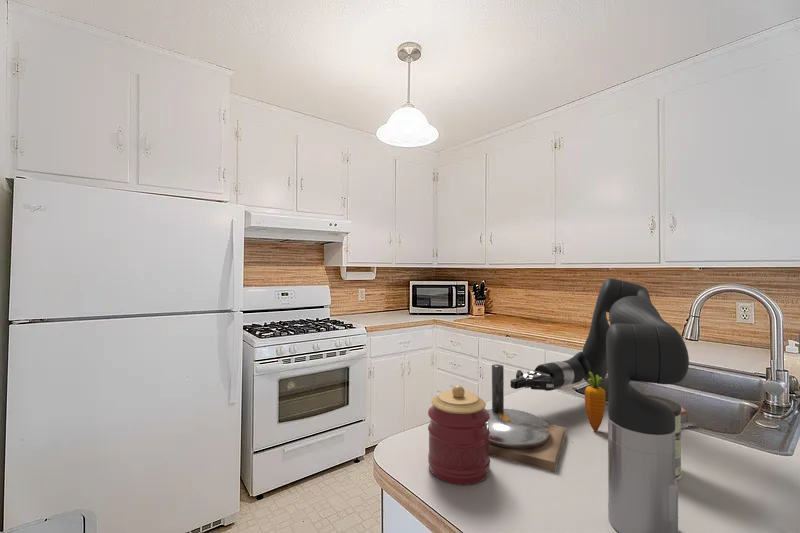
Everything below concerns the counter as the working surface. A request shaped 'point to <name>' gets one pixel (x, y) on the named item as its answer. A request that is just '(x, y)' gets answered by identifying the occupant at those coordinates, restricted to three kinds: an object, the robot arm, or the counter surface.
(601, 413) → the carrot
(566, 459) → the counter surface
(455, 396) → the canister
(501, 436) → the wheel
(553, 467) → the base board
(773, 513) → the counter surface
